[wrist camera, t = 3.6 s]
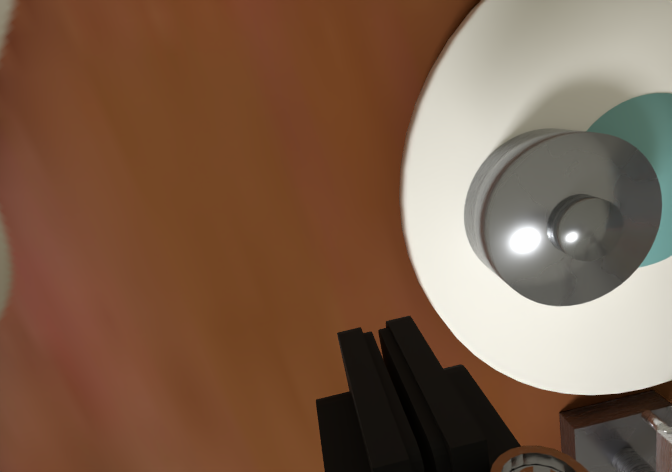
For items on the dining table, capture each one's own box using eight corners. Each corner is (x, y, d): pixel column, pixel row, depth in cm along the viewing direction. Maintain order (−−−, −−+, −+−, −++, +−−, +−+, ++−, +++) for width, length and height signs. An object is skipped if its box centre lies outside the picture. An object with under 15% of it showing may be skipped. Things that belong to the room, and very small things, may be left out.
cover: (613, 113, 20) (685, 116, 16) (615, 263, 22) (680, 295, 18) (455, 146, 20) (491, 156, 16) (472, 295, 22) (508, 334, 18)
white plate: (821, -108, 21) (908, -142, 18) (780, 317, 28) (839, 342, 25) (355, -19, 20) (368, -40, 17) (423, 401, 27) (441, 438, 24)
